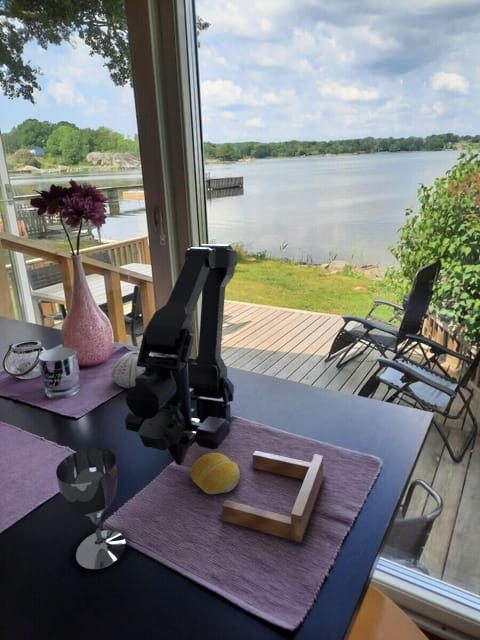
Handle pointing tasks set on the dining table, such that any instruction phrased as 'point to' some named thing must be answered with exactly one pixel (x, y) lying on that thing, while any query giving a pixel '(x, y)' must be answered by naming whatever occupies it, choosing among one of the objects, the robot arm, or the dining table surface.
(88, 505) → the wine glass
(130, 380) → the sea urchin shell
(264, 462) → the open wooden frame
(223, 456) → the bread roll
